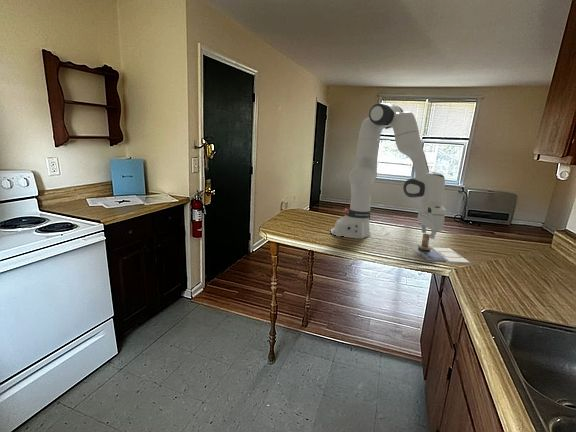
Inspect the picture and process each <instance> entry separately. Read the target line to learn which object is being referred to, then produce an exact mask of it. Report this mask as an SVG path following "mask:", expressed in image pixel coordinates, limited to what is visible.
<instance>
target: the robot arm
mask: <svg viewBox="0 0 576 432" xmlns="http://www.w3.org/2000/svg"><path fill="white" fill-rule="evenodd" d="M415 117H416V116H415V114H414V113H413V112H411V111H404V110H403V109H402V108H401V107H400V106H398V105H395V104H394V103H393V104H392V103H385V102H377V103H375V104H374V105H372V107H371V108H370V109H369V113H368V117H366V118H364V119H363V120H362V122H361V126H360V129H359V132H358V133H359V134H358V138H357V139H358V140H357V147H356V152H355V153H356V159H357V165H356V166H355V167H353V168H352V169H351V170H350V172H349V174H348V180H349V185H350V204H349V205H350V206H349V208H346V207H345V208H344V212H345V215H344V216H342V217H340V218H338V219H337V220H336V222H335V223H334V227H331V228H330V231H331V232H330V234H331V233H332V234H331V235H333V234H334V235H336V236H335V237H340V236H344V237H343V238H351V239H360V240H361V239H365V238H368V237H370V236H371V230H370V220H371V214H372V212H371V211H372V210H371V206H372V205H371V204H372V194H371V193H372V192H371V184H373V183H374V182H375V180H376V179H377V177H378V152H379V146H380V145H379V144H380V140H381V133H382V131H383V129H385V130H387V129H390V128H392V129H393V134H394V140H395V145H396V148H397V150H398V151H399V152H400V153H401V154H403V155H405V156H406V157H407V158H409V159H410V161H411V162H412V166H413V168H414V173H415V177H412V178H409V179H407V180H406V181H404V183H403V187H402V189H403V193H404V195H406V197H408V198H411V199H414V198H415V199H416V198H421V207H420V208H419V209H418V213H417V222H419V223H420V227H421V233H423V234H424V233H425V234H427V228H429V229H430V231H431V232H430V238H429V239H433V240H434V239H435V237H436V234H437V233H438V232H442V231H443V229H444V226H445V219H446V218H445V217H446V215H447V210H446V208H445V207H444V205H443V202H444V201H443V196H444V193H445V188H446V187H445V186H446V178H445V176H444V175H443V174H442V173H440V172H435V171H430V170H429V165H428V162H427V159H426V155H425V150H424V148H423V146H422V145H423V144H422V141H421V137H420V131H419V127H418V123H417V120H416V118H415ZM334 235H333V236H334Z"/></svg>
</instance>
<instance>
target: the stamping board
mask: <svg viewBox="0 0 576 432" xmlns="http://www.w3.org/2000/svg"><path fill="white" fill-rule="evenodd" d="M409 247H410V248H412V249H413V251H414V252H416V253H417V254H418V255H419V256H420V257H421V258H423V260H424V261H426V262H437V263H453V264H454V263H455V264H456V263H457V264H473V262H470V260H468V259H466V258H464V256H462V255H461V254H459V253H458V252H456V251H455V250H454V249H452V248H451V247H450V248H449V247H433V246H432V247H431V246H430V247H431V250H430V252H425V251H421V250H419V249H418V248H419V247H418V246H416V245H415V246H413V245H411V246H409Z"/></svg>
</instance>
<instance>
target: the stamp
mask: <svg viewBox="0 0 576 432" xmlns="http://www.w3.org/2000/svg"><path fill="white" fill-rule="evenodd" d="M430 234H431V233H430ZM430 234H429V233H423V234H422V239H421V244H420V243H418V246H417V247H419V248H418V249H419V250H421V251H425V252H430V250H431V246H430V245H429V244H430V239H431V238H430Z"/></svg>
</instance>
